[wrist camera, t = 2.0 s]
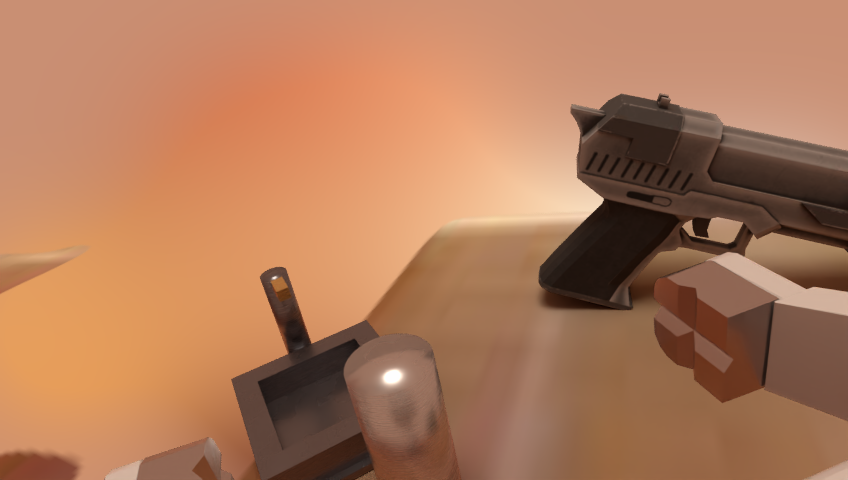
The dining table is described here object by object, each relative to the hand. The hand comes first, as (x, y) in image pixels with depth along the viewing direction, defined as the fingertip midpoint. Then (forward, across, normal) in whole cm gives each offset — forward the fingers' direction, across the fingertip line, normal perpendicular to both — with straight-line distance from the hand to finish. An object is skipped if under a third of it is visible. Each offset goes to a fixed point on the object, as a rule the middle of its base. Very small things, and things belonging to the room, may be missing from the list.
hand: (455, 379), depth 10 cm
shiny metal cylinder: (+12, 0, +19) cm, 22 cm away
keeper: (+22, +4, +19) cm, 29 cm away
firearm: (+18, -28, +19) cm, 39 cm away
